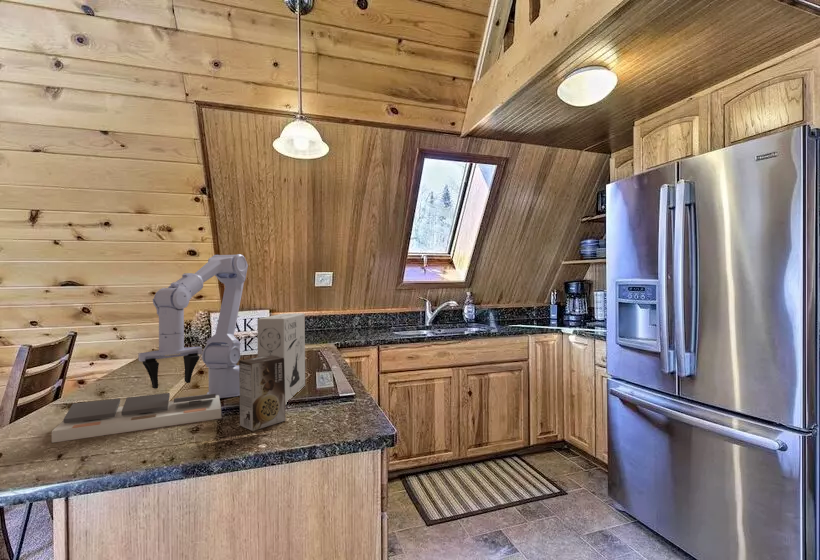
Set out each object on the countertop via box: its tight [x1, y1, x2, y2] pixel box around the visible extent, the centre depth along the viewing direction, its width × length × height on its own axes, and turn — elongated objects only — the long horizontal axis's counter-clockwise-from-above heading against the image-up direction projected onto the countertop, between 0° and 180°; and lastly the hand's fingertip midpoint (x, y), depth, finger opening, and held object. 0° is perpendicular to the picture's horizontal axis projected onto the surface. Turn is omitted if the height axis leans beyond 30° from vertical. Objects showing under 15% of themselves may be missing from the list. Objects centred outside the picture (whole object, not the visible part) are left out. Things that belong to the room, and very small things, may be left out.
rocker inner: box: [173, 393, 216, 403], centre depth 109 cm, size 10×8×1 cm
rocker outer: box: [62, 398, 121, 423], centre depth 99 cm, size 10×8×1 cm
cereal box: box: [257, 312, 306, 406], centre depth 126 cm, size 22×8×25 cm, turn 179°
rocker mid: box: [121, 392, 171, 416], centre depth 104 cm, size 10×8×1 cm
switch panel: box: [51, 395, 222, 443], centre depth 104 cm, size 34×15×3 cm, turn 117°
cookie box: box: [238, 355, 287, 432], centre depth 101 cm, size 9×6×16 cm
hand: (171, 385), depth 107 cm, fingers open, 7 cm apart
